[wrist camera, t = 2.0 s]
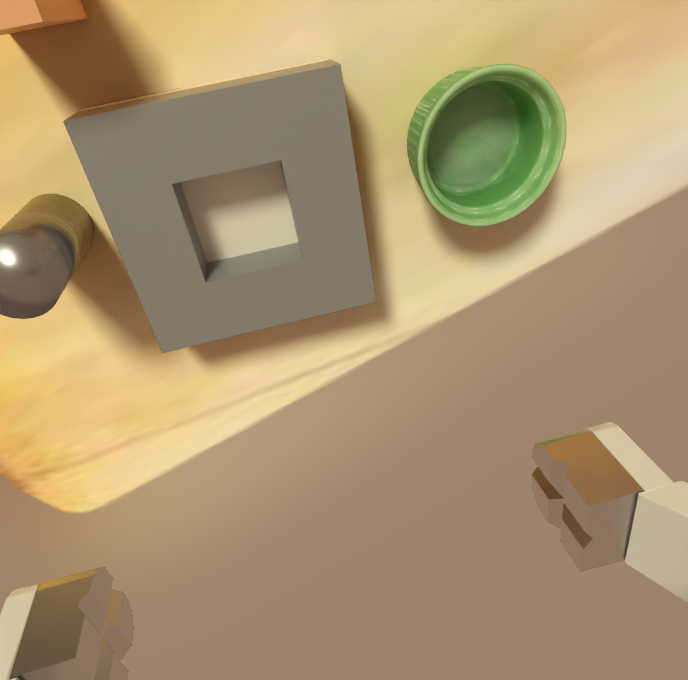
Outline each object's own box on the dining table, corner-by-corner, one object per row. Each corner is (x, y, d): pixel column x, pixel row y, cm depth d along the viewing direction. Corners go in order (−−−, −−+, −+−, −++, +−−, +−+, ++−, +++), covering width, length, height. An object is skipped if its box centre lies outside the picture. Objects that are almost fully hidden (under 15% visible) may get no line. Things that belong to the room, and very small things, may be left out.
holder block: (328, 58, 31) (340, 64, 27) (363, 276, 38) (376, 302, 35) (81, 108, 30) (63, 121, 26) (168, 322, 37) (162, 353, 34)
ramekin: (510, 28, 32) (548, 30, 28) (545, 165, 36) (581, 183, 33) (375, 104, 32) (394, 116, 29) (426, 228, 37) (448, 252, 34)
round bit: (77, 187, 32) (36, 234, 25) (104, 249, 34) (74, 308, 27) (8, 202, 31) (-51, 253, 25) (40, 263, 34) (-6, 326, 27)
